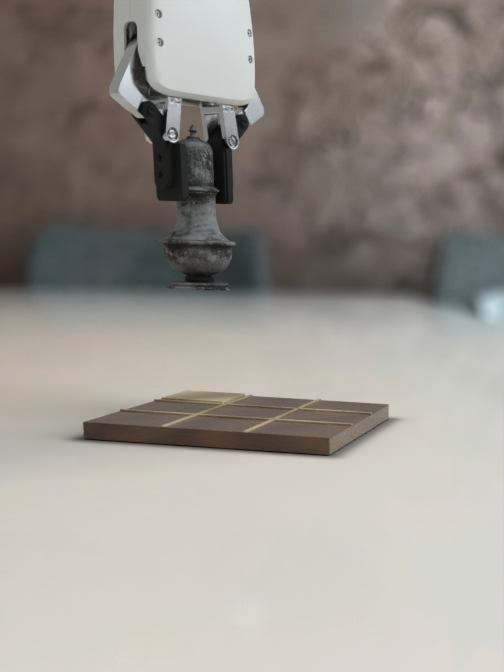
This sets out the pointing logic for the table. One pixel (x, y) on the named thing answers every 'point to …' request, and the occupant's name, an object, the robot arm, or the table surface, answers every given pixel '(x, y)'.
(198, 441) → the board
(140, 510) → the table surface
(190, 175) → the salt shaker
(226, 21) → the robot arm
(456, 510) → the table surface
